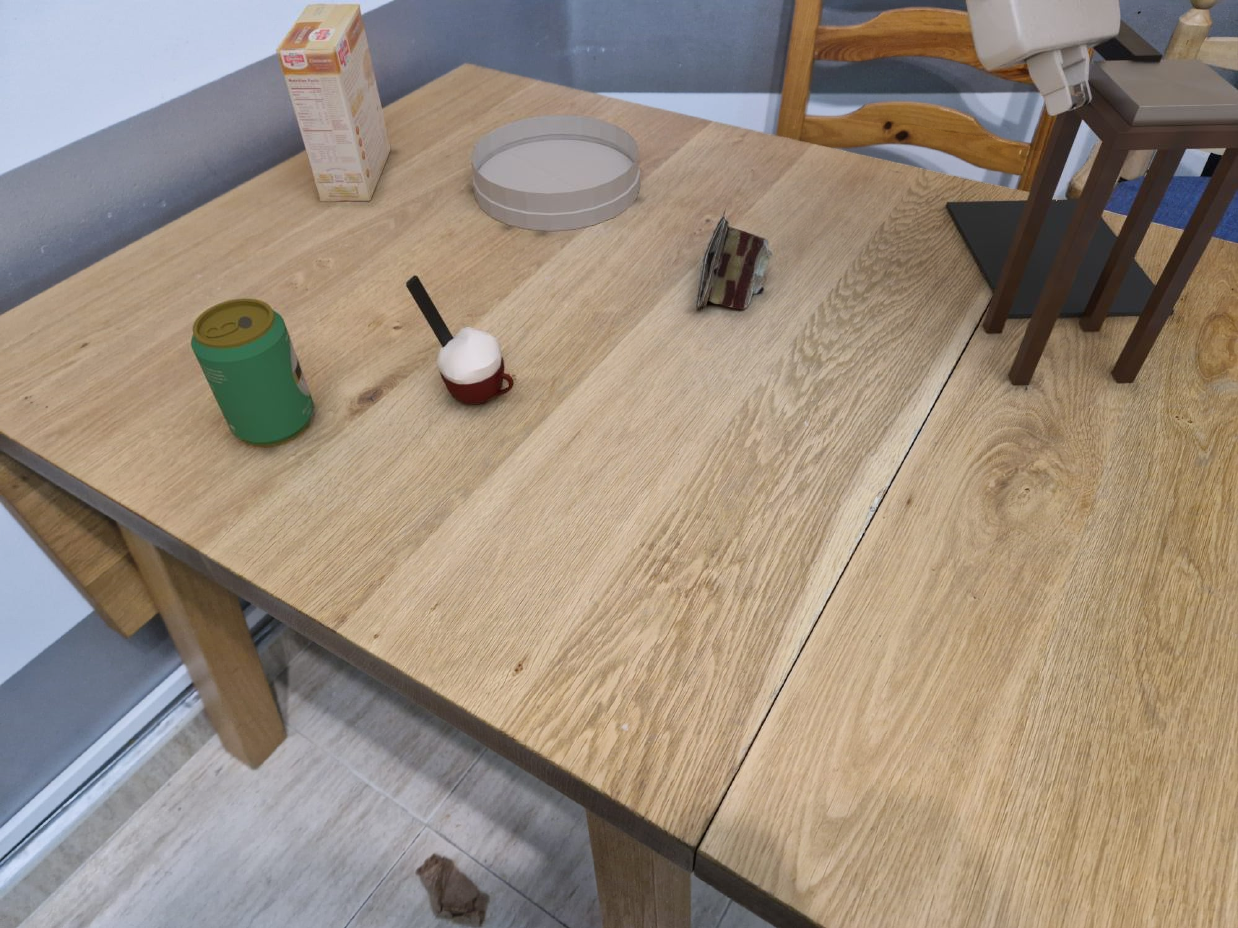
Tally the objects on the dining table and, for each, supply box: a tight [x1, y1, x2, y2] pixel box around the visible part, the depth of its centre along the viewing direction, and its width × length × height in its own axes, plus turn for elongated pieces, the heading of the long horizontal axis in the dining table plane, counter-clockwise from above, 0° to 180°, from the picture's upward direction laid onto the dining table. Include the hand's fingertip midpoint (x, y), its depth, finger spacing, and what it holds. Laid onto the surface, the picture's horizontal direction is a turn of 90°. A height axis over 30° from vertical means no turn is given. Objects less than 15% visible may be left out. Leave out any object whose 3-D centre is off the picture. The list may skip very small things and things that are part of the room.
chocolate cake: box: [694, 208, 773, 311], centre depth 98 cm, size 10×7×12 cm
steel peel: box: [1088, 18, 1238, 126], centre depth 74 cm, size 9×18×2 cm, turn 1°
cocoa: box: [405, 274, 515, 405], centre depth 82 cm, size 10×6×12 cm, turn 40°
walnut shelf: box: [982, 82, 1238, 386], centre depth 80 cm, size 12×10×26 cm
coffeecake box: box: [275, 3, 392, 202], centre depth 112 cm, size 15×7×20 cm, turn 0°
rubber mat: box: [945, 198, 1175, 319], centre depth 102 cm, size 18×24×1 cm
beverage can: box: [190, 298, 315, 448], centre depth 80 cm, size 8×8×12 cm
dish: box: [470, 114, 641, 232], centre depth 113 cm, size 22×22×5 cm
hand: (1071, 110), depth 70 cm, fingers closed
